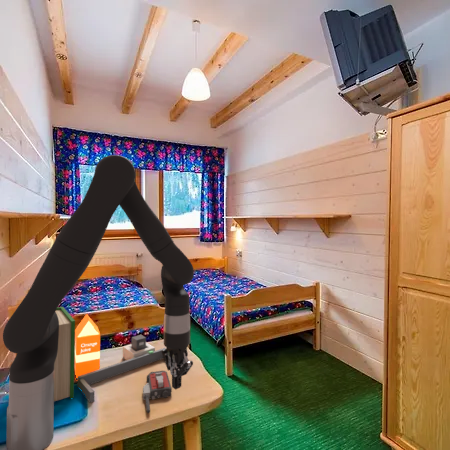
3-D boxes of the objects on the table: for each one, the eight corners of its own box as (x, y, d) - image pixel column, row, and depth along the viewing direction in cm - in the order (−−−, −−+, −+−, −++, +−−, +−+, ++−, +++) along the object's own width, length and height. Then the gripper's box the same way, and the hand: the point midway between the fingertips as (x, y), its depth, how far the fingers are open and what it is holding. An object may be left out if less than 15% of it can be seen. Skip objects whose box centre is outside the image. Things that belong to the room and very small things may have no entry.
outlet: (133, 366, 112) (133, 354, 112) (122, 357, 118) (123, 346, 118) (154, 358, 118) (154, 347, 118) (143, 351, 124) (143, 340, 124)
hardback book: (73, 398, 91) (75, 320, 90) (45, 407, 86) (47, 325, 86) (61, 374, 105) (62, 306, 104) (37, 381, 100) (38, 310, 99)
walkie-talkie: (141, 380, 103) (144, 417, 84) (141, 367, 102) (144, 402, 83) (166, 377, 105) (175, 412, 86) (167, 364, 105) (176, 396, 86)
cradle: (90, 402, 89) (90, 389, 89) (77, 386, 97) (77, 374, 97) (180, 366, 112) (181, 355, 112) (164, 356, 120) (164, 346, 120)
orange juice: (97, 364, 112) (98, 311, 112) (99, 375, 105) (101, 318, 104) (73, 368, 108) (74, 314, 108) (75, 380, 101) (76, 322, 100)
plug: (136, 361, 115) (136, 340, 115) (131, 357, 118) (131, 337, 118) (145, 357, 118) (146, 337, 118) (140, 354, 121) (140, 334, 121)
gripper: (201, 331, 83) (201, 392, 84) (174, 319, 93) (174, 374, 93) (179, 338, 78) (178, 403, 78) (153, 325, 88) (153, 383, 88)
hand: (176, 387), depth 86 cm, fingers closed
